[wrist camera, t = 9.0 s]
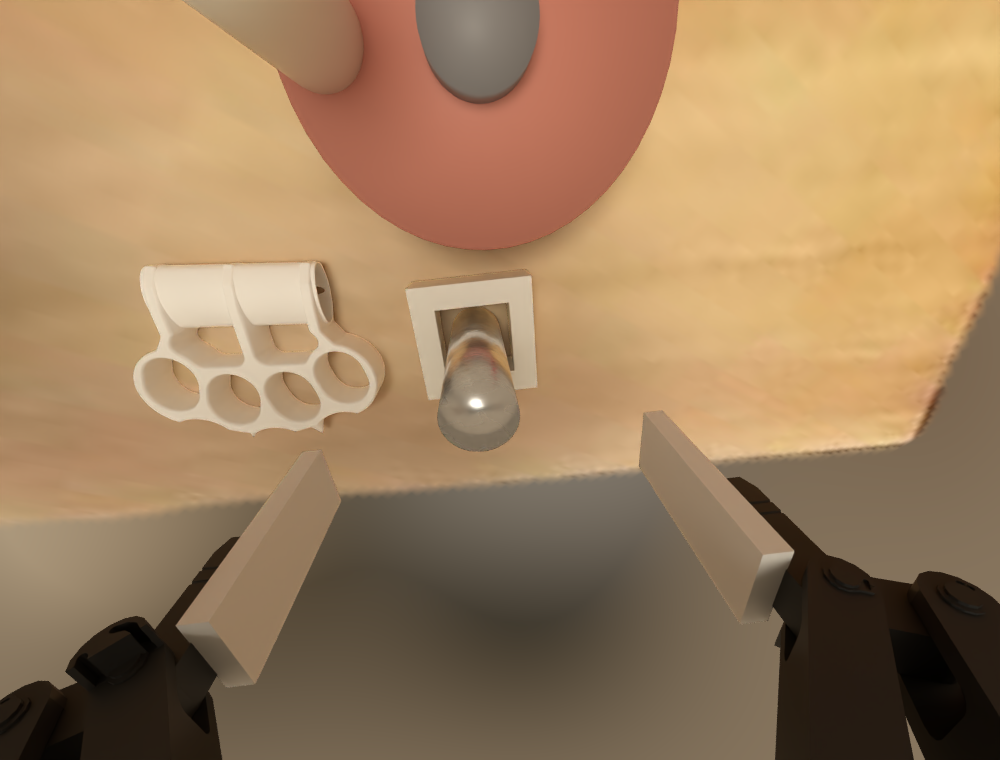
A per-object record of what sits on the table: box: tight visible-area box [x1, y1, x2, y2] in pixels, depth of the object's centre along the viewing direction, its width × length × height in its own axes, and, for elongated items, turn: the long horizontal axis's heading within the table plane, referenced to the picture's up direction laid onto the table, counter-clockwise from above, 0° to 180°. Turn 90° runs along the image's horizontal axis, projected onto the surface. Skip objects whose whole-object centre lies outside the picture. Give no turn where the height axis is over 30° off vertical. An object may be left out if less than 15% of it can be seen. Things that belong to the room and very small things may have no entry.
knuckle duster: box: [133, 261, 385, 437], centre depth 28 cm, size 3×18×15 cm
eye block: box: [405, 269, 537, 400], centre depth 28 cm, size 9×9×3 cm
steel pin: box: [437, 307, 520, 452], centre depth 23 cm, size 4×4×14 cm
